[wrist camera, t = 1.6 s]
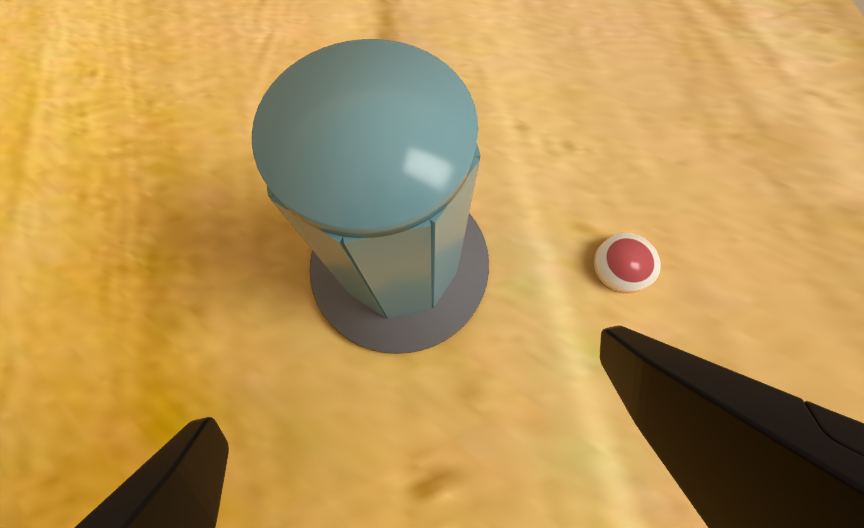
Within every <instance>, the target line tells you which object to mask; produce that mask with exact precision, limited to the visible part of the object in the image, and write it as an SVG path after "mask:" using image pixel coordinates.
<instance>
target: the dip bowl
mask: <svg viewBox="0 0 864 528" xmlns="http://www.w3.org/2000/svg"><path fill="white" fill-rule="evenodd" d="M593 265H594V269H595V272H596V274H597V276H598V278H599V279H600V280H601V282H602V283H603V284H604V285H606V286H607V287H608V288H610V289H612V290H614V291H617V292H620V293H634V292H637V291H639V290H641V289H643V288H645V287H647V286H649V285H651V284H652V283H653V282H654V281H655V280H656V279H657V277H658V275H659V272H660V259H659V256H658V253H657V251H656V250H655V248H654V247H653V246H652V245H651V243H649V242H648V241H647V240H646V239H644V238H643V237H641V236H638V235H636V234H632V233H618V234H615V235H613V236H611V237H609V238H608V239H607V240H606V241H605V242H603V243H602V244H601V245H600V246H599V247H598V248H597V250H596V252H595V254H594V259H593Z"/></svg>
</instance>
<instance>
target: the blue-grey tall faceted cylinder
mask: <svg viewBox="0 0 864 528" xmlns="http://www.w3.org/2000/svg"><path fill="white" fill-rule="evenodd" d="M477 134H478V121H477V113H476V109H475V105H474V102H473V100H472V97H471V95H470V92H469V91H468V89H467V87H466V86H465V84H464V82H463V81H462V80H461V79H460V77H459V76H458V75H457V74H456V73H455V72H454V71H453V70H452V69H451V68H450V67H449V66H448V65H447V64H445V63H444V62H443V61H441V60H440V59H439V58H437V57H435V56H434V55H432V54H430V53H428V52H427V51H424V50H422V49H420V48H417V47H415V46H412V45H408V44H405V43H401V42H396V41H390V40H380V39H362V40H353V41H346V42H342V43H337V44H334V45H330V46H327V47H324V48H322V49H319V50H317V51H315V52H312V53H310V54H309V55H307V56H305V57H303V58H301V59H300V60H298V61H297V62H295V63H294V64H293V65H291V66H290V67H288V68H287V69H286V70H285V71H284V72H283V73H282V74H281V75H280V76H279V77H278V78H277V79H276V80H275V81H274V82H273V83H272V85H271V86H270V87H269V89H268V90H267V92H266V93H265V95H264V96H263V98H262V100H261V102H260V104H259V106H258V108H257V112H256V115H255V118H254V122H253V128H252V148H253V155H254V159H255V162H256V165H257V168H258V170H259V172H260V174H261V176H262V178H263V180H264V181H265V182H266V184H267V190H268V196H269V197H270V198H271V201H272V202H273V203H274V204H275V205H276V207H277V208H278V209H279V210H280V211H281V213H282V214H283V215H284V216H285V217H286V219H287V220H288V221H289V222H290V223H291V225H292V226H293V227H294V228H295V229H296V231H297V232H298V233H299V234H300V235H301V237H302V238H303V239H304V240H305V241H306V243H307V244H308V245H309V246H310V247H311V249H312V250H313V251H314V252H315V253H316V255H317V256H318V257H319V258H320V259H321V261H322V262H323V263H324V264H325V265H326V267H327V268H328V269H329V270H330V272H331V273H332V274H333V275H334V276H335V278H336V279H337V280H338V281H339V282H340V284H341V285H342V286H343V287H344V288H345V290H346V291H347V292H348V293H349V294H350V295H351V296H352V297H354V298H355V299H357V300H358V301H360V302H362V303H363V304H365V305H366V306H368V307H369V308H371V309H372V310H374V311H375V312H377V313H378V314H380V315H381V316H383V317H384V318H386V317H388V319H390V318H394V317H399V316H404V315H408V314H413V313H418V312H422V311H427V310H432V307H433V308H434V307H435V306H436V304H437V303H438V301H439V300H440V298H441V296H442V295H443V293H444V292H445V290H446V289H447V287H448V286H449V284H450V283H451V281H452V280H453V278H454V277H455V275H456V273H457V270H458V265H459V260H460V255H461V250H462V245H463V241H464V236H465V231H466V226H467V221H468V216H469V211H470V206H471V201H472V196H473V191H474V186H475V181H476V176H477V171H478V166H479V161H480V152H479V149H478V146H477Z"/></svg>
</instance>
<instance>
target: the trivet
mask: <svg viewBox="0 0 864 528" xmlns="http://www.w3.org/2000/svg"><path fill="white" fill-rule="evenodd" d="M488 274H489V258H488V250H487V246H486V243H485V239H484V237H483V234H482V232H481V230H480V228H479V226H478V225H477V223H476V221H475V220H474V219H473V217H472V216H471V215H470V213H469V216H468V221H467V226H466V231H465V236H464V241H463V245H462V250H461V255H460V260H459V265H458V270H457V273H456V275H455V277H454V278H453V280H452V281H451V283H450V284H449V286H448V287H447V289H446V290H445V292H444V293H443V295H442V296H441V298H440V300H439V301H438V303H437V304H436V306H435V307H434V308H433V307H432V310H427V311H422V312H418V313H413V314H408V315H404V316H399V317H394V318H390V319H388V317H386V318H384V317H383V316H381V315H380V314H378V313H377V312H375V311H374V310H372V309H371V308H369V307H368V306H366V305H365V304H363V303H362V302H360V301H358V300H357V299H355V298H354V297H352V296H351V295H350V294H349V293H348V292H347V291H346V290H345V288H344V287H343V286H342V285H341V284H340V282H339V281H338V280H337V279H336V278H335V276H334V275H333V274H332V273H331V272H330V270H329V269H328V268H327V267H326V265H325V264H324V263H323V262H322V261H321V259H320V258H319V257H318V256H317V255H316V253H315V252H314V251H313V250H312V255H311V260H310V279H311V286H312V290H313V294H314V297H315V299H316V302H317V304H318V306H319V308H320V310H321V312H322V313H323V315H324V316H325V318H326V319H327V320H328V321H329V323H330V324H331V325H332V326H333V327H334V328H335V329H336V330H337V331H338V332H339V333H341V334H342V335H344V336H345V337H346V338H348V339H349V340H351V341H353V342H354V343H356V344H358V345H360V346H363V347H365V348H368V349H371V350H374V351H379V352H384V353H397V354H398V353H411V352H416V351H421V350H424V349H427V348H430V347H433V346H435V345H437V344H439V343H441V342H443V341H445V340H447V339H448V338H450V337H451V336H452V335H454V334H455V333H456V332H458V331H459V330H460V329H461V328H462V327H463V326H464V325H465V324H466V323H467V322H468V320H469V319H470V318H471V317H472V315H473V314H474V312H475V311H476V309H477V308H478V306H479V304H480V302H481V299H482V297H483V295H484V292H485V289H486V285H487V280H488Z"/></svg>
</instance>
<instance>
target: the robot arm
mask: <svg viewBox="0 0 864 528" xmlns="http://www.w3.org/2000/svg"><path fill="white" fill-rule="evenodd" d="M600 361H601V364H602V366H603V368H604V370H605V371H606V373H607V375H608V377H609V379H610V380H611V382H612V384H613V386H614V387H615V389H616V391H617V393H618V394H619V396H620V398H621V400H622V402H623V403H624V405H625V407H626V409H627V410H628V412H629V414H630V416H631V417H632V419H633V421H634V422H635V424H636V425H637V427H638V428H639V430H640V431H641V433H642V434H643V436H644V437H645V439H646V440H647V441H648V443H649V444H650V446H651V447H652V448H653V450H654V451H655V453H656V454H657V456H658V457H659V458H660V460H661V461H662V463H663V464H664V465H665V467H666V468H667V470H668V471H669V473H670V474H671V475H672V477H673V478H674V480H675V481H676V482H677V484H678V485H679V487H680V488H681V490H682V491H683V492H684V494H685V495H686V497H687V498H688V499H689V501H690V502H691V504H692V505H693V507H694V508H695V509H696V511H697V512H698V514H699V515H700V516H701V518H702V519H703V521H704V522H705V523H706V525H707V526H708V528H864V423H862V422H859V421H857V420H854V419H851V418H849V417H846V416H844V415H841V414H839V413H836V412H834V411H831V410H829V409H826V408H824V407H821V406H819V405H816V404H814V403H811V402H809V401H805V402H804V401H803V400H802V399H801V398H799V397H796V396H794V395H791V394H789V393H786V392H784V391H781V390H779V389H776V388H774V387H771V386H769V385H767V384H764V383H762V382H759V381H757V380H754V379H752V378H749V377H747V376H744V375H742V374H739V373H737V372H734V371H732V370H729V369H727V368H725V367H722V366H720V365H717V364H715V363H712V362H710V361H707V360H705V359H702V358H700V357H697V356H695V355H692V354H690V353H687V352H685V351H682V350H680V349H678V348H675V347H673V346H670V345H668V344H665V343H663V342H660V341H658V340H655V339H653V338H650V337H648V336H645V335H643V334H640V333H638V332H636V331H633V330H631V329H628V328H626V327H623V326H613V327H609V328H605V329H603V330H602V332H601V343H600ZM228 452H229V447H228V442H227V440H226V438H225V436H224V435H223V433H222V431H221V429H220V428H219V426H218V424H217V422H216V421H215V419H213V418H212V417H206V418H202V419H197V420H193V421H191V422H189V423H188V424H187V425H186V426H185V427H184V428H183V429H182V430H181V431H179V432H178V433H177V434H176V435H175V436H174V437H173V438H172V439H171V440H170V441H169V442H167V443H166V444H165V445H164V446H163V447H162V448H161V449H160V450H159V451H158V452H157V453H155V454H154V455H153V456H152V457H151V458H150V459H149V460H148V461H147V462H146V463H145V464H143V465H142V466H141V467H140V468H139V469H138V470H137V471H136V472H135V473H134V474H133V475H131V476H130V477H129V478H128V479H127V480H126V481H125V482H124V483H123V484H122V485H121V486H119V487H118V488H117V489H116V490H115V491H114V492H113V493H112V494H111V495H110V496H109V497H107V498H106V499H105V500H104V501H103V502H102V503H101V504H100V505H99V506H98V507H97V508H95V509H94V510H93V511H92V512H91V513H90V514H89V515H88V516H87V517H86V518H84V519H83V520H82V521H81V522H80V523H79V524H78V525H77V526H76V527H75V528H215V526H216V522H217V517H218V512H219V506H220V500H221V494H222V488H223V482H224V476H225V470H226V464H227V459H228Z"/></svg>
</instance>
